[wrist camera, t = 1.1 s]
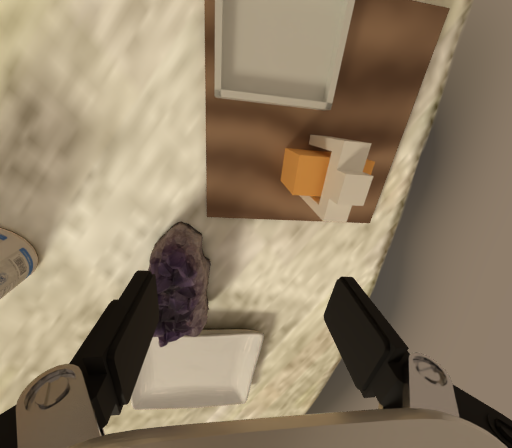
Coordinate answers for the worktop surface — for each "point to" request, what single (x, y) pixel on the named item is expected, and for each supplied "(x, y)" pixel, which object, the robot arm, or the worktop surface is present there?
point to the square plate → (198, 370)
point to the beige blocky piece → (341, 178)
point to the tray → (280, 50)
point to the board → (320, 113)
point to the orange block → (308, 171)
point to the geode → (180, 283)
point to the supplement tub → (15, 260)
